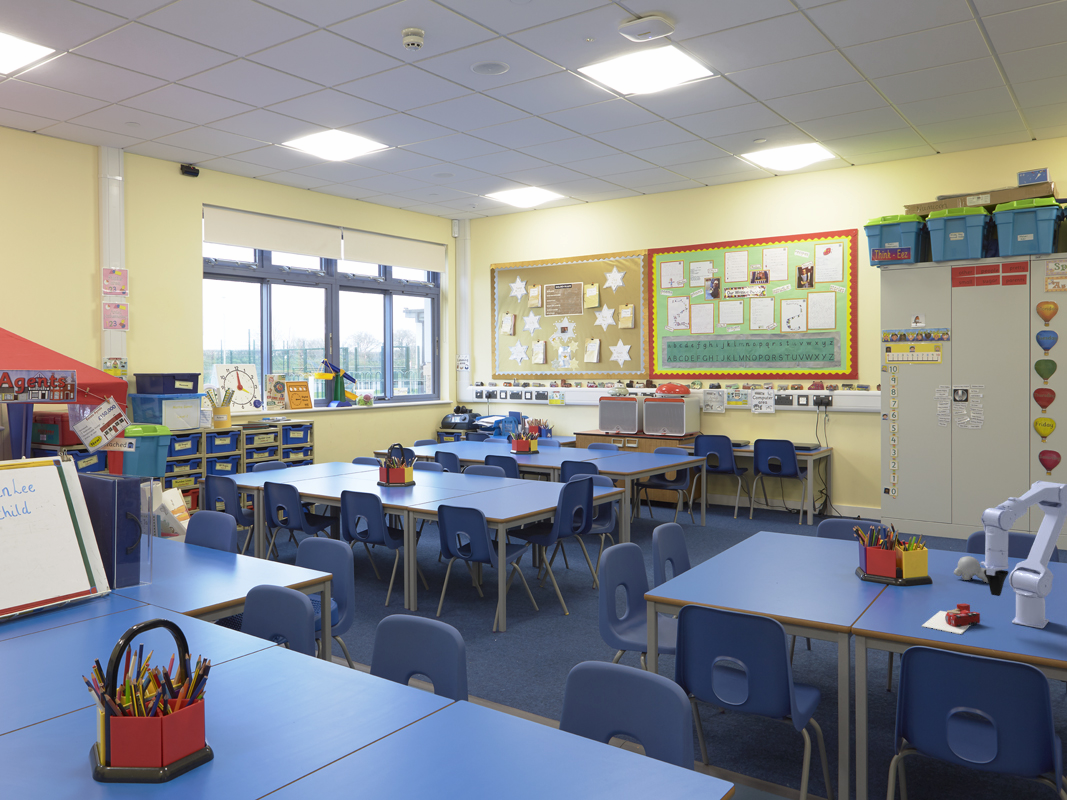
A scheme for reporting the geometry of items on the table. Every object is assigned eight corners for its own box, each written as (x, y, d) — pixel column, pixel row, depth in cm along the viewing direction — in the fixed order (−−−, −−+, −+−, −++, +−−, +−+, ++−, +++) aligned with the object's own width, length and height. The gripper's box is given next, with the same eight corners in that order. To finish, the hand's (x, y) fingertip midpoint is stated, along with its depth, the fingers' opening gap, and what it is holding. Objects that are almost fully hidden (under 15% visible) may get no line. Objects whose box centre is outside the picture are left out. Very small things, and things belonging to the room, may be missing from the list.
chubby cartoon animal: (983, 592, 268) (993, 572, 265) (949, 574, 276) (959, 554, 273) (990, 587, 273) (1000, 568, 270) (956, 570, 281) (966, 550, 278)
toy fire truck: (955, 628, 223) (929, 618, 232) (990, 622, 227) (964, 613, 236) (954, 616, 223) (929, 607, 232) (990, 611, 227) (963, 602, 236)
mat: (940, 611, 239) (940, 610, 239) (977, 618, 231) (977, 617, 231) (921, 626, 225) (921, 625, 225) (960, 634, 218) (960, 633, 218)
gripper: (987, 543, 229) (986, 587, 229) (974, 551, 218) (974, 597, 218) (1014, 547, 224) (1013, 592, 224) (1002, 555, 213) (1002, 602, 214)
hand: (995, 595), depth 221 cm, fingers closed
